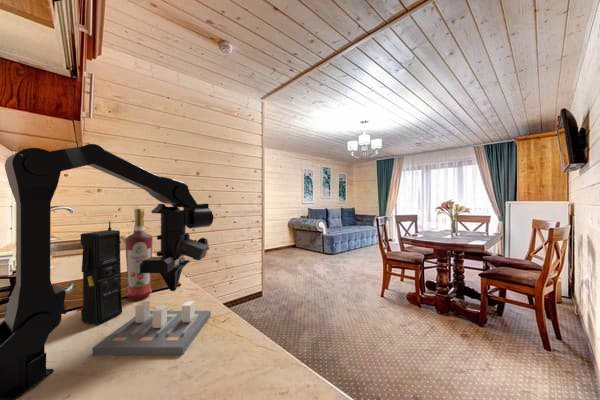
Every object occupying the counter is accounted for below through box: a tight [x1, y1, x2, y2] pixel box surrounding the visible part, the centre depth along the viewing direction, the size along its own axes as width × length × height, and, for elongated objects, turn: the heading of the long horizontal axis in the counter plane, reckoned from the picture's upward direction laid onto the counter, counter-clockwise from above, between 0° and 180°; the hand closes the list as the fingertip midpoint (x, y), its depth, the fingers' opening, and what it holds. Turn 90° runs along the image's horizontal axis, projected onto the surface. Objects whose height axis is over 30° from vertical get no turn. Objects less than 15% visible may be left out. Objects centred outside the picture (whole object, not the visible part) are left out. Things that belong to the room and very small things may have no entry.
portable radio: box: [80, 220, 123, 325], centre depth 64 cm, size 8×6×25 cm
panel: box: [91, 310, 212, 356], centre depth 57 cm, size 18×16×2 cm
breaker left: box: [134, 301, 151, 323], centre depth 60 cm, size 2×2×4 cm
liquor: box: [124, 208, 154, 301], centre depth 78 cm, size 7×7×28 cm
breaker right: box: [181, 300, 195, 322], centre depth 60 cm, size 2×2×4 cm
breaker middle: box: [152, 305, 168, 328], centre depth 57 cm, size 2×2×4 cm
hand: (173, 290), depth 64 cm, fingers closed
